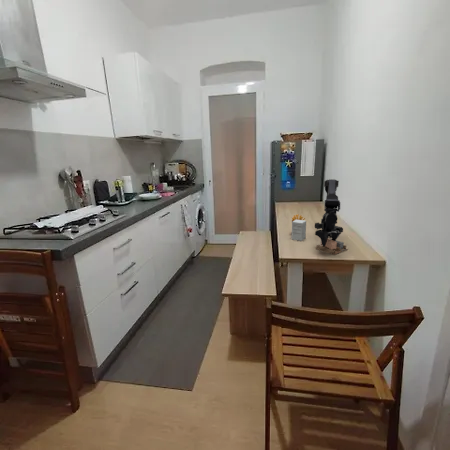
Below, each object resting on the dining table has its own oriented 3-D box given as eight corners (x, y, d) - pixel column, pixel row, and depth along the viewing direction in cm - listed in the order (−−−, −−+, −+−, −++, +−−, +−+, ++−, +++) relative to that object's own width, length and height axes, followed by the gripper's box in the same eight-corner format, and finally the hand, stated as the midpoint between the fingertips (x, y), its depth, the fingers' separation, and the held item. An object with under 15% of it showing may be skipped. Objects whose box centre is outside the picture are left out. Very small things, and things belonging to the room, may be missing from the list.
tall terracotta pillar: (321, 244, 157) (321, 238, 156) (325, 243, 158) (326, 237, 157) (331, 249, 149) (331, 242, 148) (336, 248, 150) (336, 242, 149)
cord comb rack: (315, 248, 158) (315, 244, 157) (328, 244, 164) (328, 240, 164) (334, 255, 147) (334, 251, 146) (347, 250, 154) (348, 246, 153)
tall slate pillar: (326, 245, 160) (327, 239, 159) (329, 244, 162) (330, 238, 161) (339, 249, 153) (340, 243, 152) (342, 248, 155) (343, 242, 154)
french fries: (291, 236, 183) (292, 215, 179) (290, 232, 190) (291, 212, 186) (304, 236, 181) (305, 215, 177) (303, 232, 189) (304, 212, 185)
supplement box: (295, 236, 181) (296, 219, 178) (305, 238, 177) (306, 220, 174) (290, 239, 176) (291, 221, 173) (301, 241, 171) (302, 223, 168)
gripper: (328, 215, 161) (326, 238, 165) (308, 219, 151) (306, 244, 155) (344, 218, 151) (342, 243, 156) (324, 223, 142) (322, 249, 146)
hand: (328, 245), depth 153 cm, fingers open, 8 cm apart
